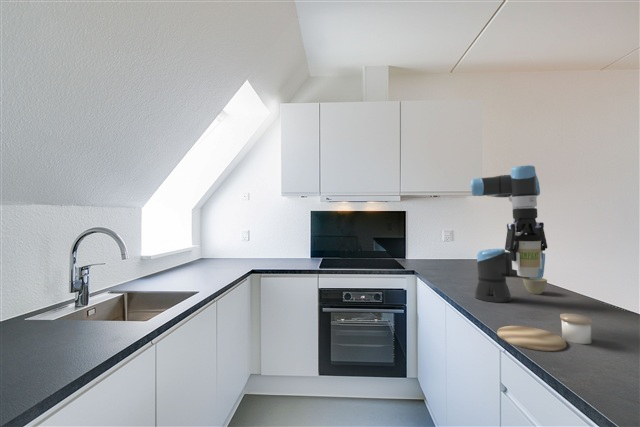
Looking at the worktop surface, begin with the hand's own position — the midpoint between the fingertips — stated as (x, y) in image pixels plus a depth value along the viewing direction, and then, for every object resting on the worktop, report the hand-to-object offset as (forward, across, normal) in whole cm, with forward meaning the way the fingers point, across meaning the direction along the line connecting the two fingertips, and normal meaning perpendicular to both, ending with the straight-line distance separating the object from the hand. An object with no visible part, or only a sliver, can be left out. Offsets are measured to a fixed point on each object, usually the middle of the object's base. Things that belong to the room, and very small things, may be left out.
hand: (527, 268), depth 109 cm
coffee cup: (+3, 0, 0) cm, 3 cm away
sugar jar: (+20, +1, -16) cm, 25 cm away
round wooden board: (+19, -12, -12) cm, 26 cm away
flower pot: (+20, +37, +33) cm, 53 cm away
